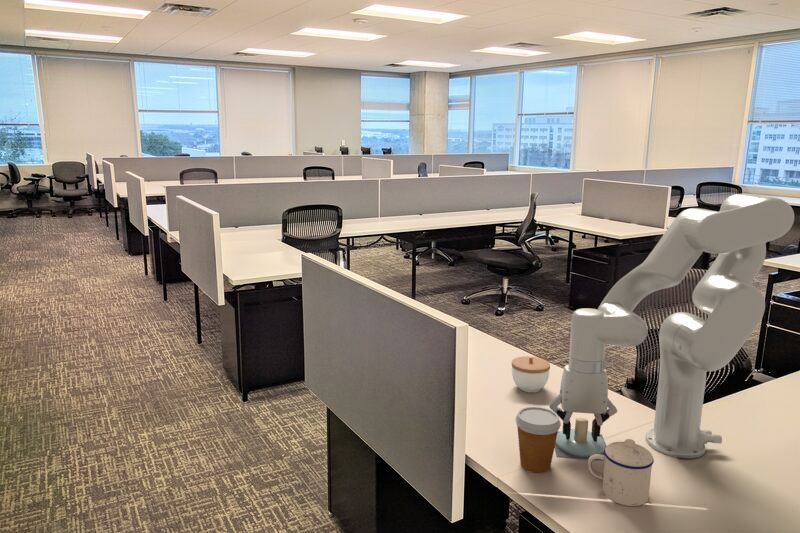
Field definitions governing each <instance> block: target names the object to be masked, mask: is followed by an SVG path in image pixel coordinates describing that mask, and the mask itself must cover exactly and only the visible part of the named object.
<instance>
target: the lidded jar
mask: <svg viewBox="0 0 800 533" xmlns="http://www.w3.org/2000/svg"><path fill="white" fill-rule="evenodd" d="M550 369H551V363H550V362H549V361H548V360H547V359H544V358H540V357H537V356H532V355H531V356H530V355H529V356H528V355H526V356H525V355H523V356H517V357H515V358H513V359H512V360H511V376H512V379H513V382H514V384H515V385H516V386H517V387H518V389H519V388H520V389H521V390H520V389H519V390H520V391H522V390H523V391H522V392H525V391H526V392H525V393H539V392H540V391H541V389H542V388H544V387H545V386H546V384H547V383H548V380H549V376H550Z"/></svg>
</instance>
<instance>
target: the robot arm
mask: <svg viewBox="0 0 800 533" xmlns="http://www.w3.org/2000/svg"><path fill="white" fill-rule="evenodd" d="M794 222H795V212H794V209H793V208H792V206H791V205H790V204H789V203H788V202H787V201H786V200H783V199H781V198H779V197H773V196H767V195H759V194H751V193H735V194H731V195H729V196H728V197H727V198H725V199H724V201H722V203H721V205H720V209H719V211H717V210H710V209H706V208H699V207H690V208H687V209H685V210H682V211H681V212H680V213H679V214H678V215H677V216H676V217H675V219H674V220H673V221H672V223H671V224H670V225H669V227H668V228H667V229H666V231H665V232H664V233H663V235H662V236H661V238H660V239H659V241H658V242H657V243H656V245H655V246H654V248H653V249H652V250H651V252H650V253H649V254H648V256H647V257H646V259H644V261H643V262H642V263H641V264H639V265H638V266H636V267H634V268H633V269H632V270H631V271H629V272H628V273H627V274H625V275H624V276H622V277H621V278H620V279H619V280H618V281H617V282H616V283H615V284H614V285H613V286H612V288H611V289H610V290H608V292H607V294H606V296H605V297H604V298H603V300H602V301H601V303H600V305H599V306H598V307H597V309H596V308H589V307H588V308H587V307H586V308H578V309H576V310H574V311H573V312H572V315H571V321H570V322H571V323H570V324H571V325H570V338H569V339H570V340H569V352H568V353H569V354H568V364H566V365H565V366H564V368H563V372H562V376H561V382H560V389H559V394H558V395H557V396H556V397H554V399H552V401H550V402H549V403H548V406H549V410H552V411H554V412H555V413H556V414H557V415H558V416H559V419H560V420H562V431H563V434H565V436H566V439H567V440H569V439H570V431H571V428H572V424H571V418H572V415H573V413H578V414H592V415H594V418H593V419H592V422H591V432H592V433H591V435H592V438H593V441H594V442H597V437H600V434H601V428H602V427H601V426H603V424H604V423H605V422H607V421H608V420H609V419H610V418H611V417H612V416H614V415H615V414H617V413H618V408H617V407H616V406H615V405H614V403H613V402H612V400H610V398H609V388H608V384H609V383H608V374H607V370H606V367H611V365H612V360H611V359H608V358H606V356H605V355H606V345H610V346H611V345H612V346H616V347H617V346H618V347H623V348H632V347H637V346H639V345H641V344H643V342H645V341H646V339H647V337H648V334H649V333H648V332H649V329H648V325H647V323H646V321H645V320H644V319H643V318H642V317H641V316H640V315H638V314H636V313H635V312H634V310H635V309H636V307H637V305H638V304H639V303H640V302H641V301H642V300H644V299H645V297H647V296H649V295H650V294H652V293H654V292H657V291H660V290H664V289H669V288H672V287H676V286H677V285H679V284H680V283H681V282H682V281H683V279H684V278H685V277H686V276H687V274H688V273H689V272H690V270H691V269H692V268H693V266H694V264H695V263H696V262H697V260H699V258H700V256H702V254H703V252H704V253H708V254H714V255H717V254H718V255H717V256H716V258H715V260H714V261H713V262H712V264H710V267H708V269H707V270H706V272H705V273H704V275H703V276H702V277H701V279H700V280H699V281H698V283H697V284H696V286H695V287H694V289H693V292H692V295H691V298H692V302H693V305H694V306H695V307H696V308H697V309H698V310H700V311H701V312H702V313H704V314H706V315H707V316H708V317H707V319H704V318H701V317H700V316H698V315H695V314H693V313H690V312H686V311H681V312H680V311H679V312H674V313H672V314H670V315H668V316H667V317H666V318H665V319H664V320H663V322H662V323H661V326H660V327H659V331H658V332H659V333H658V337H659V338H658V339H659V340H658V342H659V356H660V357H659V358H660V360H659V361H660V362H659V373H658V374H659V375H658V384H657V394H656V402H655V403H656V404H655V412H654V422H653V423H654V424H653V428H652V429H649V430H648V431H647V432H646V435H645V442H646V443H647V445H648V446H650V448H652V449H653V450H655V451H657V452H659V453H661V454H664V455H666V456H670V457H674V458H678V459H687V460H688V459H695V458H699V457H702V456H703V455H704V454H705V453H706V445H707V444H708V443H710V444H711V443H712V444H720V445H721V444H722V442H723V437H722V435H721V434H713V433H712V430H707V429H706V430H705V429H704V430H703V429H701V423H702V415H703V414H702V413H703V406H704V396H705V389H706V385H707V384H706V382H707V372H716V371H719V370H720V369H723V368H724V367H725V366H727V365H728V364H729V363H730V362H731V361H732V359H734V358H735V356H736V355H737V354H738V352H739V351H740V350H741V348H743V346H744V344H745V343H746V341H748V339H749V338H750V336H751V335H752V334H753V332H754V331H755V330H756V328H757V327H758V326H759V324H760V322H761V320H762V319H763V317H764V313H765V310H766V300H765V297H764V294H763V293H762V291H761V290H760V289H759V288H757V286H755V285H753V284H752V283H753V282H754V280H755V278H756V277H757V275H758V274H759V272H760V271H761V270H762V267H763V265H764V264H765V259H766V256H767V246H766V245H767V244H766V243H768V242H772V241H775V240H778V239H780V238H781V237H783V236H784V235H785V234H787V233H788V232H789V231H790V230H791V229H792V226H793V225H794ZM559 405H561V408H560V407H559Z"/></svg>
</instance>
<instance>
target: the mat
mask: <svg viewBox="0 0 800 533" xmlns="http://www.w3.org/2000/svg"><path fill="white" fill-rule="evenodd" d="M559 432H560V431H558V433H559ZM558 433H557V434H558ZM600 437H601V438H602V439H603V440H604V441H605V439H604V437H603V434H601V433H600ZM606 447H607V445H606ZM606 447H605V448H606ZM554 452H555V455H556V458H563V459H564V458H565V459H578V460H589V458H582V457H576V456H573V455H570V454H567V453H565V452H563V451H562V450H560V449H559V448H558V447H557V445H556V442H555V447H554ZM602 455H605V454H604V453H603V454H602ZM593 461H604V462H605V460H601V459H594V460H593Z"/></svg>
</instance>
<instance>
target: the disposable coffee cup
mask: <svg viewBox="0 0 800 533" xmlns="http://www.w3.org/2000/svg"><path fill="white" fill-rule="evenodd" d="M514 418H515V419H514V421H515V423H516V425H517V436H518V437H517V438H518V448H519V449H518V451H519V459H520V463H519V464H520V466H521V467H522V469H524V470H525V471H527V472H529V473H533V474H544V473H545V474H546V473H547V472H549V471H550V470H551V466H552V462H553V461H552V460H553V457H554V452H555V448H554V447H555V442H556V437H557V433H558V432H559V429H560V428H561V425H562V423H561V419H560V417H559V416H558V415H557V414H556V413H555V412H554V411H553V410H551V409H550V408H546V407H541V406H527V407H526V406H525V407H523V408H521V409H519V410H518V412H517V414H516V415H515V417H514Z"/></svg>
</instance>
